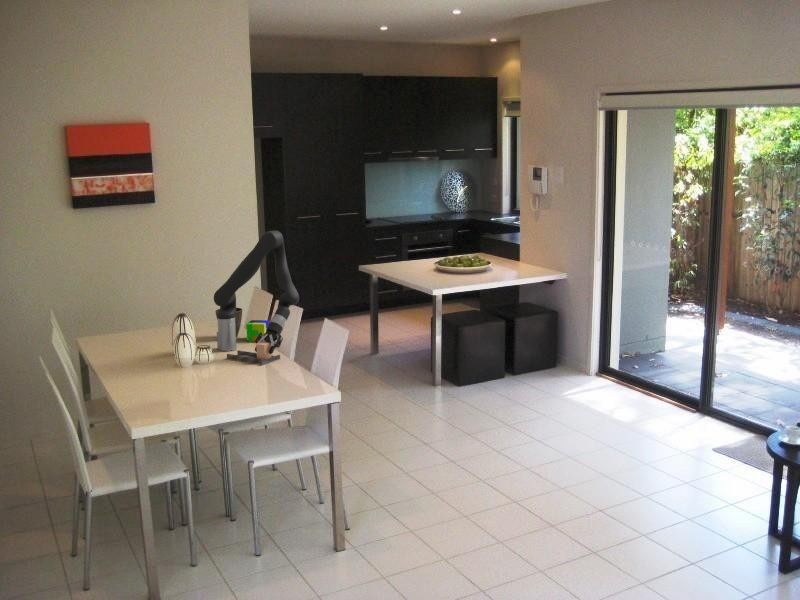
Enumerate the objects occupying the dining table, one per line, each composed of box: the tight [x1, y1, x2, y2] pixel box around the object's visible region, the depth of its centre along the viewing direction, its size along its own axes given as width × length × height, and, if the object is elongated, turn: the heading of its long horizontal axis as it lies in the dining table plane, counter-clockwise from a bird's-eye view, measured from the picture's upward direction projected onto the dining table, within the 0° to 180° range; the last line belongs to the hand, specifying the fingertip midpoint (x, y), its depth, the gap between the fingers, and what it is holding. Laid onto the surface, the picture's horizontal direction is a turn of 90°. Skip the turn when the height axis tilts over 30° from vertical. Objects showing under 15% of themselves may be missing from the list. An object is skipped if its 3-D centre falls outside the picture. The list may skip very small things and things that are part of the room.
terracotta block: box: [255, 342, 272, 360], centre depth 416 cm, size 5×5×9 cm
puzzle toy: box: [245, 319, 270, 341], centre depth 468 cm, size 10×10×10 cm
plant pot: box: [214, 307, 243, 338], centre depth 472 cm, size 15×15×16 cm
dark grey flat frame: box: [224, 350, 281, 366], centre depth 421 cm, size 25×14×4 cm, turn 60°
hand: (262, 352), depth 416 cm, fingers open, 8 cm apart
